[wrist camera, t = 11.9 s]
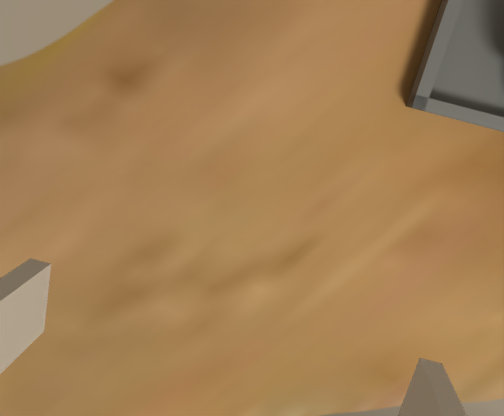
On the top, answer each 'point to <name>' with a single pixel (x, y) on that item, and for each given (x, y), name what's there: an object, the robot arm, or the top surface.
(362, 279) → the top surface
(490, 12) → the tray
